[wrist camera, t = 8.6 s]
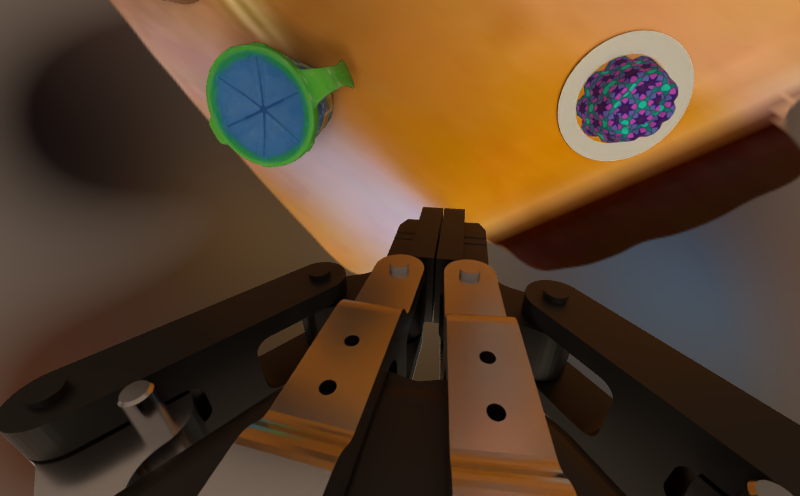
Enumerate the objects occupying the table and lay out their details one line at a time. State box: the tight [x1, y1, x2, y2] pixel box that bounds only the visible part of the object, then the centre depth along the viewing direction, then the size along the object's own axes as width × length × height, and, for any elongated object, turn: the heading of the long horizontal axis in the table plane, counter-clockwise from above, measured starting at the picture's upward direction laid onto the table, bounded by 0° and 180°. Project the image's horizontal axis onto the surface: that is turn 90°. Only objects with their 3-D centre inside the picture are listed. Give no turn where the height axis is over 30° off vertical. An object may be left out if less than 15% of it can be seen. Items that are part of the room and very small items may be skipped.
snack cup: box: [206, 42, 355, 167], centre depth 35 cm, size 16×10×10 cm
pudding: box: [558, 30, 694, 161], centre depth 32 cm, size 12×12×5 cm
